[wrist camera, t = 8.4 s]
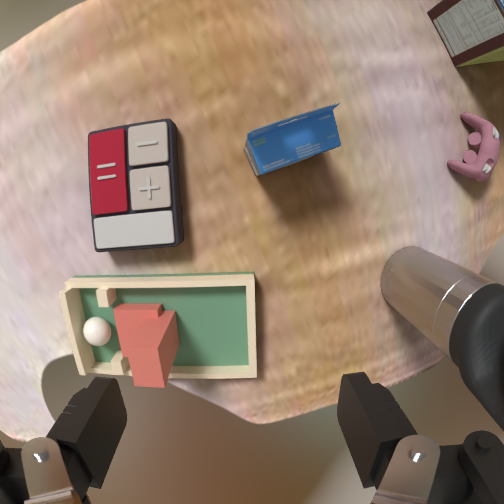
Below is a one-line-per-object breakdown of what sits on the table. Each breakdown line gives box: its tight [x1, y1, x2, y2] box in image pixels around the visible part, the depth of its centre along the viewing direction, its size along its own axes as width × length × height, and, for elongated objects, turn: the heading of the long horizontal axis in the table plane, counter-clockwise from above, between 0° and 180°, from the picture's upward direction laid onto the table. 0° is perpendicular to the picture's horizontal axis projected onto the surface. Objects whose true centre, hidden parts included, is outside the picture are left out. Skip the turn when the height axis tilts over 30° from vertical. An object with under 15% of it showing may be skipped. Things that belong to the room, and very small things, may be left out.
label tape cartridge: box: [244, 103, 341, 176], centre depth 31 cm, size 9×4×12 cm, turn 112°
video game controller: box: [447, 112, 500, 182], centre depth 35 cm, size 10×5×7 cm, turn 158°
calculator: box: [88, 119, 184, 252], centre depth 36 cm, size 11×4×15 cm
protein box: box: [427, 0, 504, 67], centre depth 26 cm, size 10×15×16 cm
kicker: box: [113, 303, 179, 388], centre depth 35 cm, size 8×7×10 cm
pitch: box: [59, 272, 257, 379], centre depth 39 cm, size 25×14×5 cm, turn 92°
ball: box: [83, 317, 111, 346], centre depth 38 cm, size 4×4×4 cm
